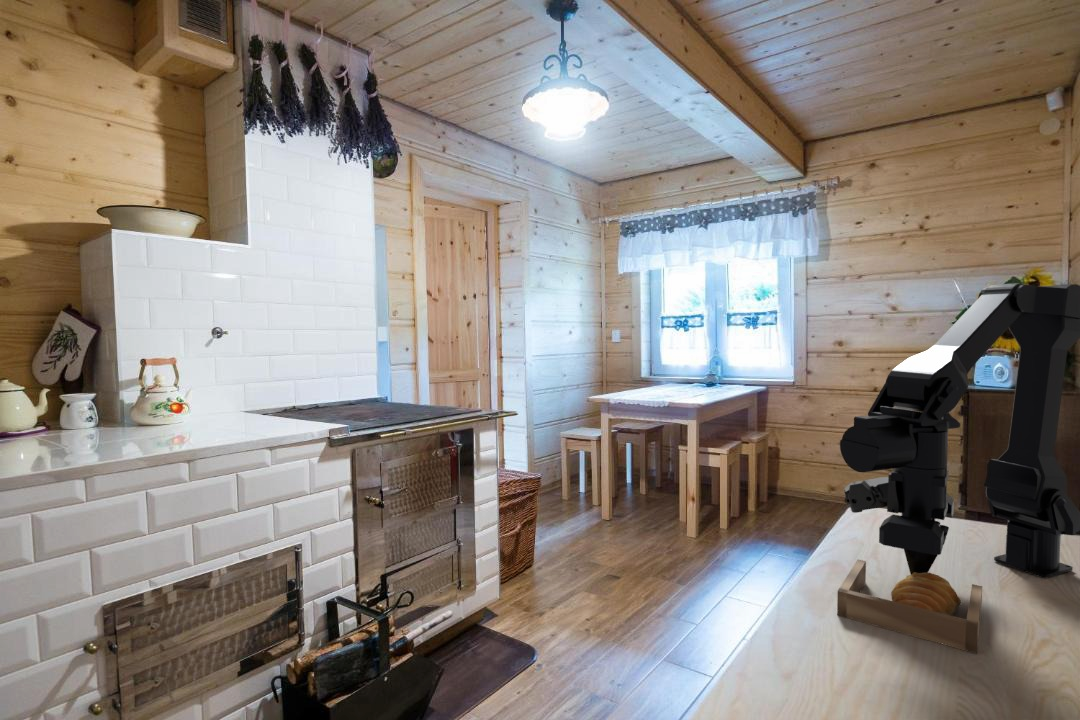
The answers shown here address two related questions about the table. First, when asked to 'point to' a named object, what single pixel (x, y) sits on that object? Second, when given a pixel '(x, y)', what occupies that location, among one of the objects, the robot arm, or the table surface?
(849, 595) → the wooden frame
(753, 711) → the table surface
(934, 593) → the pastry
